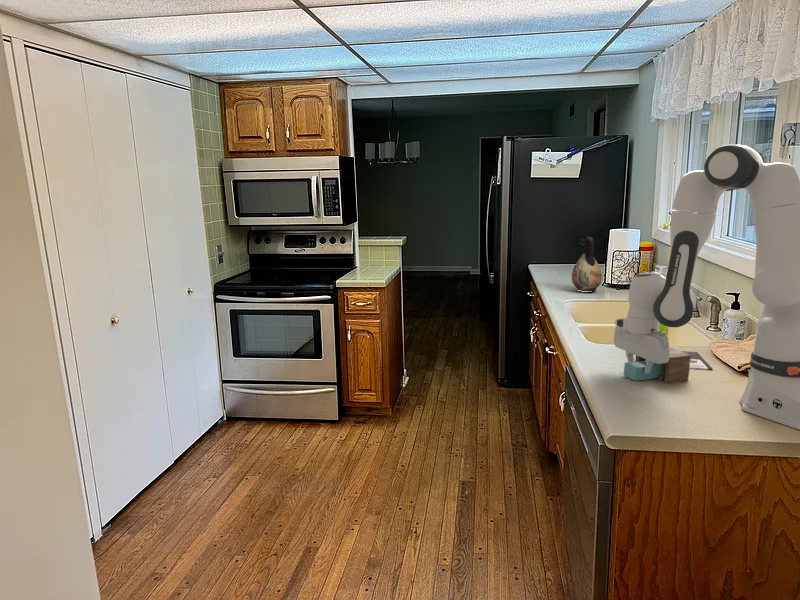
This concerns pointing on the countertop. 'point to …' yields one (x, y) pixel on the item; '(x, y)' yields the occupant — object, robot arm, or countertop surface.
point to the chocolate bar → (697, 361)
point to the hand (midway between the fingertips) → (638, 369)
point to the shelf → (674, 366)
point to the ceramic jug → (587, 268)
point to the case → (635, 372)
